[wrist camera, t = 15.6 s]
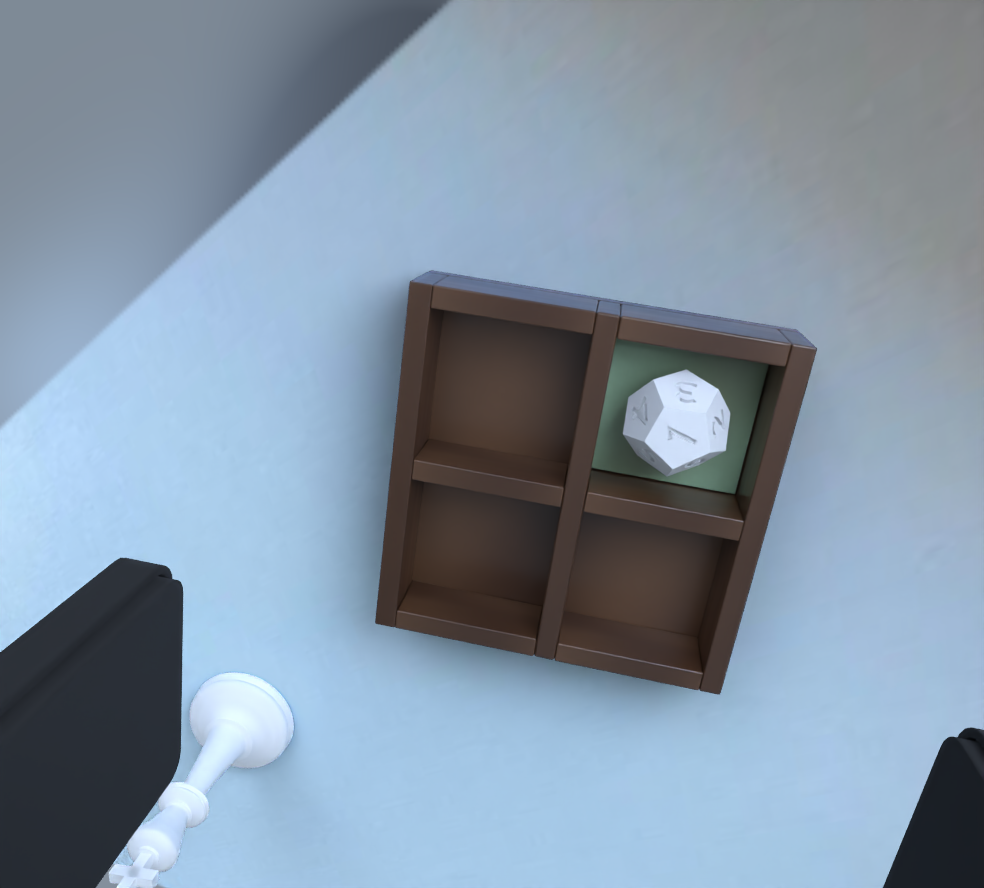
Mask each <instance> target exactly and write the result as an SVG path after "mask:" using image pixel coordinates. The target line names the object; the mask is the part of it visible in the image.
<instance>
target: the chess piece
mask: <svg viewBox="0 0 984 888" xmlns="http://www.w3.org/2000/svg"><path fill="white" fill-rule="evenodd" d="M189 718H190V725H191V729H192V731H193V734H194V736H195V738H196V739H197V741H198V742H199V744H200V745H201V746H202V747H203V748H202V750H201V752H200V754H199V756H198V758H197V760H196V762H195V764H194V765H193V767H192V769H191V771H190V773H189V775H188V776H187V778H186V780H185V782H173V783H170V784H169V785H168V787H167V788H166V789H165V791H164V792H163V794H162V795H161V796H160V798H159V799H158V806H159V809H160V811H161V812H160V813H158V814H157V815H156V816H154V817H153V818H152V819H151V820H149V821H148V822H147V823H145V824H143V825H141V826H140V827H139V828H138V829H137V830H136V832H135V833H134V834H133V836H132V837H131V839H130V840H129V841H128V843H127V849H128V853H129V855H130V857H131V858H132V860H133V861H134V863H133V865H132V866H127V865H121V864H115V865H114V867H113V868H112V869H111V871H110V872H109V879H110V883H116V884H119V885H118V886H117V888H137V887H141V888H155V886H156V885H157V883H158V882H159V880H160V878H159V872H164V871H167V870H169V869H171V868H172V867H173V866H174V865H175V864H176V862H177V860H178V857H179V854H180V850H181V844H182V839H183V836H184V834H185V830H186V828H192V827H196V826H198V825H199V824H201V823H202V822H203V821H204V820H205V819H206V818H207V817H208V814H209V803H208V800H207V798H206V797H205V795H206V794H207V792H208V791H209V790H210V789H211V787H212V786H213V785H214V784H215V783H216V782H217V780H218V779H219V778H220V777H221V776H222V775H223V774H224V773H225V771H226V770H227V769H228V768H229V767H230V766H234V767H238V768H258V767H262V766H265V765H267V764H270V763H271V762H273V761H274V760H276V759H277V758H278V757H279V756H280V755H281V753H282V752H283V751H284V750H285V749H286V748H287V746H288V745H289V743H290V741H291V739H292V736H293V732H294V720H293V716H292V712H291V710H290V707H289V705H288V704H287V702H286V700H285V699H284V698H283V696H282V695H281V694H280V693H279V692H278V691H277V690H276V689H275V688H274V687H273V686H271V685H270V684H268V683H267V682H265V681H264V680H262V679H260V678H258V677H255V676H252V675H249V674H245V673H238V672H229V673H222V674H219V675H216V676H214V677H212V678H210V679H208V680H207V681H206V682H205V683H204V684H203V685H202V686H201V687H200V688H199V690H198V692H197V694H196V696H195V697H194V699H193V701H192V704H191V707H190V713H189Z"/></svg>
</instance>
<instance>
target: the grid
mask: <svg viewBox="0 0 984 888" xmlns="http://www.w3.org/2000/svg"><path fill="white" fill-rule="evenodd" d="M816 351H817V348H816V347H815V346H814V345H813V344H812V343H811V342H810V341H809V340H808V339H806V338H805V337H804V336H803V335H802V334H801V333H800V332H799V331H798V330H795V329H789V328H783V327H777V326H771V325H764V324H758V323H752V322H746V321H740V320H734V319H727V318H721V317H715V316H709V315H703V314H697V313H690V312H684V311H678V310H672V309H666V308H660V307H653V306H647V305H641V304H635V303H629V302H623V301H616V300H610V299H604V298H598V297H592V296H586V295H579V294H573V293H567V292H561V291H555V290H549V289H542V288H536V287H530V286H524V285H518V284H512V283H505V282H499V281H493V280H487V279H481V278H475V277H468V276H462V275H456V274H450V273H444V272H438V271H429V272H427V273H425V274H423V275H421V276H419V277H417V278H415V279H414V280H412V281H410V284H409V294H408V304H407V314H406V324H405V334H404V344H403V353H402V363H401V373H400V383H399V393H398V403H397V413H396V422H395V432H394V442H393V452H392V462H391V472H390V482H389V491H388V501H387V511H386V521H385V531H384V541H383V551H382V560H381V570H380V580H379V590H378V600H377V610H376V620H375V623H376V624H380V625H385V626H390V627H396V628H400V629H405V630H410V631H414V632H419V633H424V634H429V635H434V636H439V637H443V638H448V639H453V640H458V641H463V642H467V643H472V644H477V645H482V646H487V647H492V648H496V649H501V650H506V651H511V652H516V653H521V654H525V655H530V656H533V655H534V654H535V656H537V657H541V658H546V659H551V660H553V659H554V658H555V661H559V662H564V663H569V664H574V665H578V666H583V667H588V668H593V669H598V670H603V671H607V672H612V673H617V674H622V675H627V676H631V677H636V678H641V679H646V680H651V681H656V682H660V683H665V684H670V685H675V686H680V687H685V688H689V689H694V690H700V691H704V692H709V693H714V694H720V693H721V690H722V686H723V683H724V679H725V675H726V672H727V668H728V665H729V661H730V658H731V654H732V650H733V647H734V643H735V640H736V636H737V633H738V629H739V625H740V622H741V618H742V615H743V611H744V608H745V604H746V601H747V597H748V593H749V590H750V586H751V583H752V579H753V576H754V572H755V568H756V565H757V561H758V558H759V554H760V551H761V547H762V544H763V540H764V536H765V533H766V529H767V526H768V522H769V519H770V515H771V511H772V508H773V504H774V501H775V497H776V494H777V490H778V487H779V483H780V479H781V476H782V472H783V469H784V465H785V462H786V458H787V454H788V451H789V447H790V444H791V440H792V437H793V433H794V429H795V426H796V422H797V419H798V415H799V412H800V408H801V405H802V401H803V397H804V394H805V390H806V387H807V383H808V380H809V376H810V372H811V369H812V365H813V362H814V358H815V355H816ZM683 370H688V371H690V372H691V373H693V374H694V375H696V376H698V377H699V378H701V379H703V380H704V381H706V382H707V383H709V384H711V385H712V386H714V387H715V388H717V389H719V391H720V393H721V395H722V397H723V399H724V401H725V403H726V405H727V407H728V409H729V411H730V420H729V428H728V436H727V444H726V451H724V452H722V453H720V454H718V455H717V456H715V457H713V458H711V459H709V460H707V461H706V462H704V463H702V464H700V465H698V466H695V467H692V468H690V469H687V470H684V471H681V472H678V473H675V474H673V475H670V476H665V475H664V474H663V473H661V472H660V471H658V470H657V469H656V468H654V467H653V466H651V465H650V464H649V463H647V462H646V461H644V460H643V459H642V458H640V457H639V456H637V454H636V453H635V451H634V450H633V448H632V447H631V445H630V444H629V443H628V441H627V440H626V438H625V437H624V435H623V429H624V423H625V416H626V410H627V403H628V397H629V396H631V395H632V394H634V393H635V392H636V391H638V390H639V389H641V388H642V387H643V386H645V385H646V384H648V383H649V382H651V381H652V380H654V379H657V378H660V377H663V376H667V375H670V374H673V373H676V372H680V371H683Z"/></svg>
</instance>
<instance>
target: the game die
mask: <svg viewBox="0 0 984 888" xmlns="http://www.w3.org/2000/svg"><path fill="white" fill-rule="evenodd" d="M729 420H730V411H729V409H728V407H727V405H726V403H725V401H724V399H723V397H722V395H721V393H720V391H719V389H717V388H715V387H714V386H712V385H711V384H709V383H707V382H706V381H704V380H703V379H701V378H699V377H698V376H696V375H694V374H693V373H691V372H690V371H688V370H683V371H680V372H676V373H673V374H670V375H667V376H663V377H660V378H657V379H654V380H652V381H651V382H649V383H648V384H646V385H645V386H643V387H642V388H641V389H639V390H638V391H636V392H635V393H634V394H632V395H631V396H629V397H628V403H627V410H626V416H625V423H624V429H623V435H624V437H625V438H626V440H627V441H628V443H629V444H630V445H631V447H632V448H633V450H634V451H635V453H636V454H637V456H639V457H640V458H642V459H643V460H644V461H646V462H647V463H649V464H650V465H651V466H653V467H654V468H656V469H657V470H658V471H660V472H661V473H663V474H664V475H665V476H670V475H673V474H675V473H678V472H681V471H684V470H687V469H690V468H692V467H695V466H698V465H700V464H702V463H704V462H706V461H707V460H709V459H711V458H713V457H715V456H717V455H718V454H720V453H722V452H724V451H726V444H727V436H728V428H729Z"/></svg>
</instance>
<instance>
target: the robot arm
mask: <svg viewBox="0 0 984 888" xmlns="http://www.w3.org/2000/svg"><path fill="white" fill-rule="evenodd" d="M182 635H183V587H182V584H181V582H180V581H178V580H174V579H172V574H171V571H170V569H169V568H168V567H166V566H163V565H158V564H153V563H148V562H143V561H139V560H134V559H129V558H120V559H118V560H116V561H114V562H113V563H112V564H111V565H109V566H108V567H107V568H106V569H104V570H103V571H102V572H101V573H99V574H98V575H97V576H96V577H94V578H93V579H92V580H91V581H89V582H88V583H87V584H86V585H84V586H83V587H82V588H81V589H79V590H78V591H77V592H76V593H74V594H73V595H72V596H71V597H69V598H68V599H67V600H66V601H64V602H63V603H62V604H60V605H59V606H58V607H57V608H55V609H54V610H53V611H52V612H50V613H49V614H48V615H47V616H45V617H44V618H43V619H42V620H40V621H39V622H38V623H37V624H35V625H34V626H33V627H32V628H30V629H29V630H28V631H27V632H25V633H24V634H23V635H22V636H20V637H19V638H18V639H17V640H15V641H14V642H13V643H12V644H10V645H9V646H8V647H7V648H5V649H4V650H3V651H2V652H0V888H96V886H97V885H98V884H99V882H100V881H101V879H102V878H103V877H104V875H105V874H106V872H107V871H108V869H109V868H110V867H111V865H112V864H113V862H114V861H115V860H116V858H117V857H118V855H119V854H120V853H121V851H122V850H123V848H124V847H125V846H126V844H127V843H128V841H129V840H130V839H131V837H132V836H133V834H134V833H135V832H136V830H137V829H138V827H139V826H140V825H141V823H142V822H143V820H144V819H145V818H146V816H147V815H148V813H149V812H150V810H151V809H152V808H153V806H154V805H155V803H156V802H157V801H158V799H159V798H160V796H161V795H162V794H163V792H164V791H165V789H166V788H167V787H168V785H169V784H170V782H171V780H172V779H173V776H174V774H175V772H176V769H177V766H178V763H179V759H180V752H181V698H182ZM883 888H984V730H981V729H976V728H967V729H964V730H963V731H962V732H961V733H960V734H959V736H958V737H948V738H947V739H946V740H945V741H944V742H943V744H942V745H941V747H940V750H939V752H938V755H937V757H936V759H935V762H934V764H933V767H932V769H931V772H930V774H929V777H928V779H927V781H926V784H925V786H924V789H923V791H922V794H921V796H920V799H919V801H918V803H917V806H916V808H915V811H914V813H913V816H912V818H911V821H910V823H909V825H908V828H907V830H906V833H905V835H904V838H903V840H902V843H901V845H900V847H899V850H898V852H897V855H896V857H895V860H894V862H893V865H892V867H891V869H890V872H889V874H888V877H887V879H886V882H885V884H884V887H883Z"/></svg>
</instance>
